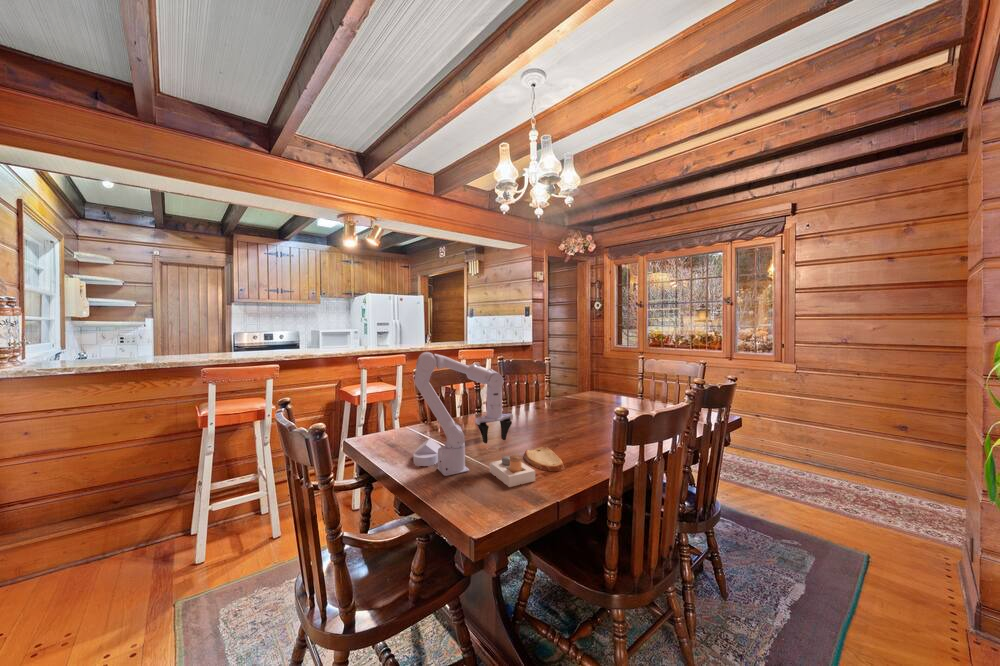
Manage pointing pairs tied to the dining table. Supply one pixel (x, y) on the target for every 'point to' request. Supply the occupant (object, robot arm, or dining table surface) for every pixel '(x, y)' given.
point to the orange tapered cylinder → (515, 463)
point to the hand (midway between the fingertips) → (494, 441)
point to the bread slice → (544, 459)
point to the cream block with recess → (511, 479)
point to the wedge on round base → (426, 453)
